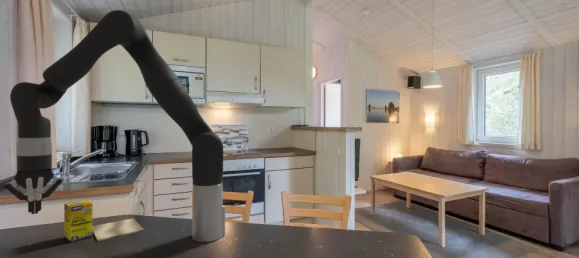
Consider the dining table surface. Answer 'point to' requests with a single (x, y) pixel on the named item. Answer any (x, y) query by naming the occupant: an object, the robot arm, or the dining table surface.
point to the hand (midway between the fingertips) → (34, 213)
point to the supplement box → (77, 220)
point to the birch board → (116, 229)
